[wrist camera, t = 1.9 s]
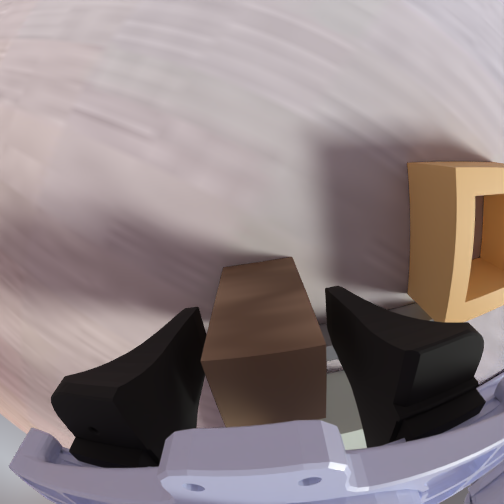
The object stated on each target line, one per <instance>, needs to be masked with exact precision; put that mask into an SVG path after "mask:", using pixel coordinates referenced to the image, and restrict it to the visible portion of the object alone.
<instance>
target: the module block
mask: <svg viewBox="0 0 504 504" xmlns="http://www.w3.org/2000/svg"><path fill="white" fill-rule="evenodd" d="M318 420H321V421H324V422H327V423H330V424H333V425H336V426H337V427H338V430H339V432H340V434H341V436H342V440H343V444H344V447H345V450H353V449H362V448H367V446H366V441H365V436H364V432H363V428H362V423H361V420H360V416H359V412H358V408H357V405H356V401H355V398H354V395H353V391H352V388H351V385H350V383H349V380H348V378H347V376H346V374H345V372H344V370H342V371H337V372H333V373H328V374H327V393H326V418H323V419H318Z"/></svg>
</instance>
